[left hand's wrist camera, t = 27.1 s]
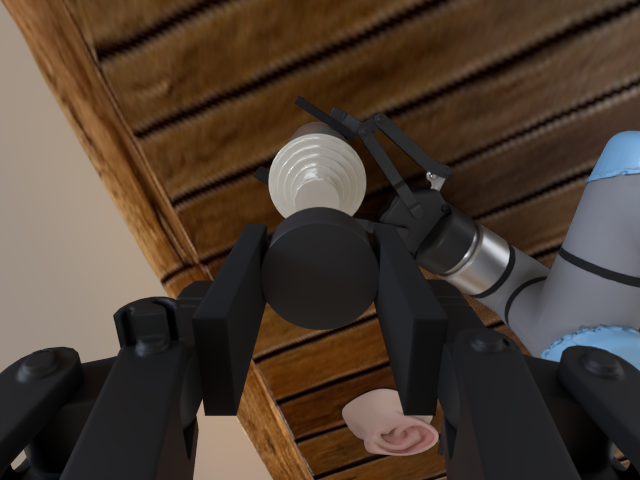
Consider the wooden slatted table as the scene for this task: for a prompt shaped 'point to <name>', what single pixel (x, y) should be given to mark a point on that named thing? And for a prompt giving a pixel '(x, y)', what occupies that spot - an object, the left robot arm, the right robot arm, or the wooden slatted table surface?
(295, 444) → the wooden slatted table surface
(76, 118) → the wooden slatted table surface
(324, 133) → the bottle
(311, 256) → the cap
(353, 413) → the anatomical model
